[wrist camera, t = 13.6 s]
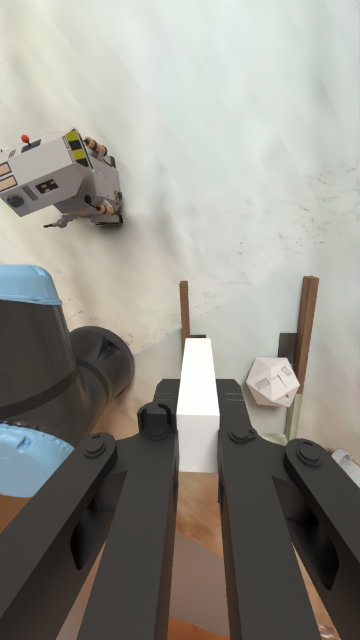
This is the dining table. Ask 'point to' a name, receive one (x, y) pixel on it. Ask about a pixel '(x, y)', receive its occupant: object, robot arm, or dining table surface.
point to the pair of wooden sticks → (279, 350)
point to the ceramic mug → (347, 465)
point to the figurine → (61, 178)
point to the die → (272, 382)
